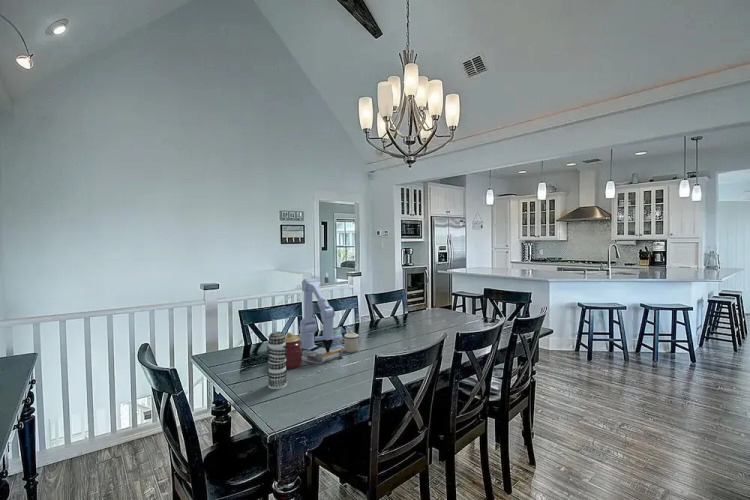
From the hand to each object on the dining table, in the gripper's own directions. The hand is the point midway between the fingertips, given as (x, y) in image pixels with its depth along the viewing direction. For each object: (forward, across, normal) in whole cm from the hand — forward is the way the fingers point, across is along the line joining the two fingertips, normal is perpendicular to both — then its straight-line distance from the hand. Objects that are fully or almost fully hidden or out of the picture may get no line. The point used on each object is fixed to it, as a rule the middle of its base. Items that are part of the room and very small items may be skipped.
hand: (327, 352), depth 217 cm
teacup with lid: (+4, +11, +16) cm, 20 cm away
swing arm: (+2, +2, -2) cm, 4 cm away
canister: (+4, -20, -9) cm, 22 cm away
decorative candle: (+3, -20, -37) cm, 42 cm away
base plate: (+3, -3, +3) cm, 5 cm away
